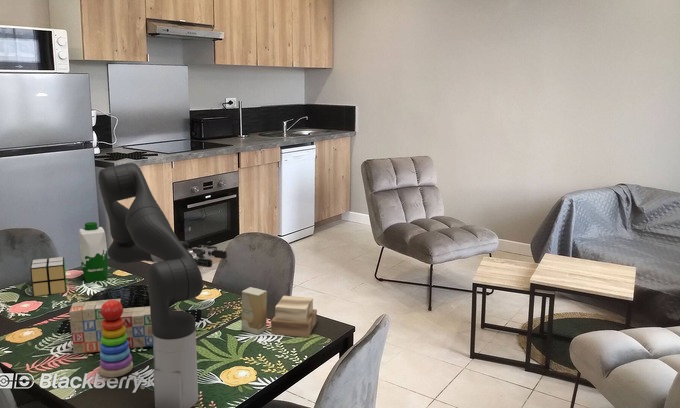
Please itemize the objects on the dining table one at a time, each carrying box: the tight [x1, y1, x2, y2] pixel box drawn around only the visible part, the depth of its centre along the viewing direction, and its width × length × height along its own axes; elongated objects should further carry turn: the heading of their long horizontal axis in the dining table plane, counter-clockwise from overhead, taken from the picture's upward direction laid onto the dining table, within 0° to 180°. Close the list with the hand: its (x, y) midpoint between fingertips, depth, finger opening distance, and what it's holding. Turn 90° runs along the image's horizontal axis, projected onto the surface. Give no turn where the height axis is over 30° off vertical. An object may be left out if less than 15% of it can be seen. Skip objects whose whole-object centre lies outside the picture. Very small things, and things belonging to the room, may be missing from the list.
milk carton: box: [78, 221, 109, 283], centre depth 207 cm, size 9×9×20 cm
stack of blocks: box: [69, 298, 153, 355], centre depth 156 cm, size 21×6×12 cm, turn 106°
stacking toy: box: [98, 299, 134, 378], centre depth 142 cm, size 8×8×19 cm
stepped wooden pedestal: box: [270, 295, 318, 338], centre depth 170 cm, size 11×11×8 cm
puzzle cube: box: [29, 256, 67, 298], centre depth 196 cm, size 10×10×10 cm
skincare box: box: [241, 286, 268, 335], centre depth 167 cm, size 6×4×12 cm
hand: (219, 259), depth 167 cm, fingers open, 8 cm apart
